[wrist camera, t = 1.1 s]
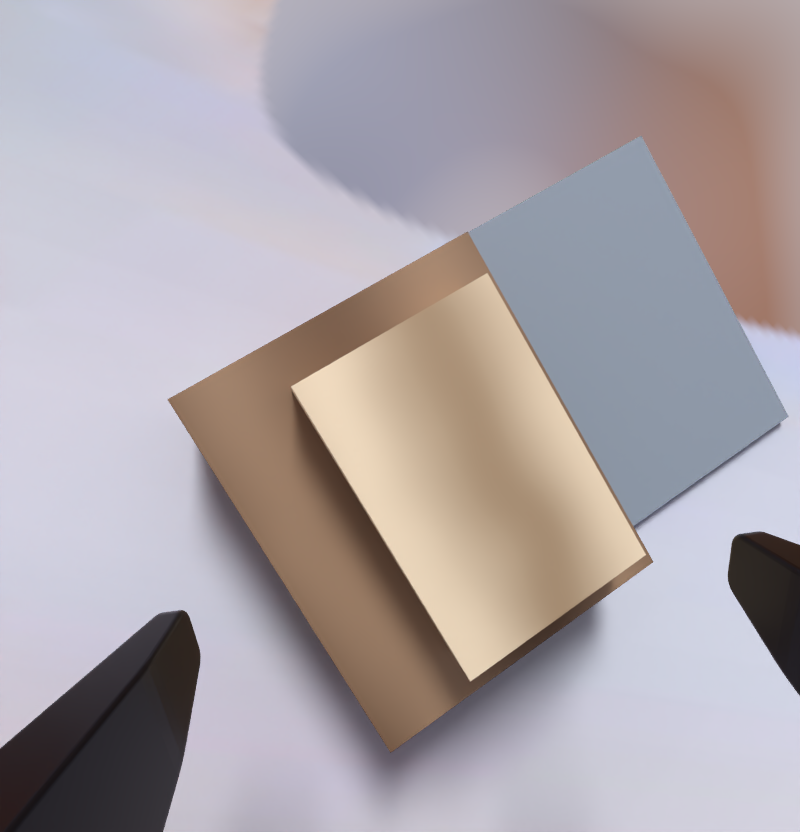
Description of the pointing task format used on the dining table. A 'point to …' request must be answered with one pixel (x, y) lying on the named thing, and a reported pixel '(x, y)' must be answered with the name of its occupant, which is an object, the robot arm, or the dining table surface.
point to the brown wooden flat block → (346, 502)
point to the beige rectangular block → (471, 473)
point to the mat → (631, 327)
